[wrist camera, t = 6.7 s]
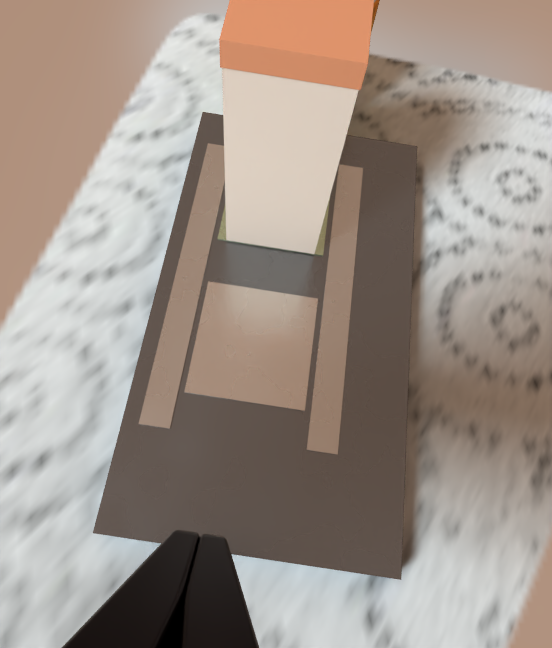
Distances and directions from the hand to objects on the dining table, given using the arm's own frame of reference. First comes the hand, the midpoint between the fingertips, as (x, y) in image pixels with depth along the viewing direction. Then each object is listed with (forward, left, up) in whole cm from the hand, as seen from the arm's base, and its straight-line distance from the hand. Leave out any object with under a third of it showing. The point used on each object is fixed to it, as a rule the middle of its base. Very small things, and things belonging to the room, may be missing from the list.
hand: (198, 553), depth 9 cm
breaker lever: (+15, 0, -11) cm, 18 cm away
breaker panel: (+10, -1, -12) cm, 16 cm away
